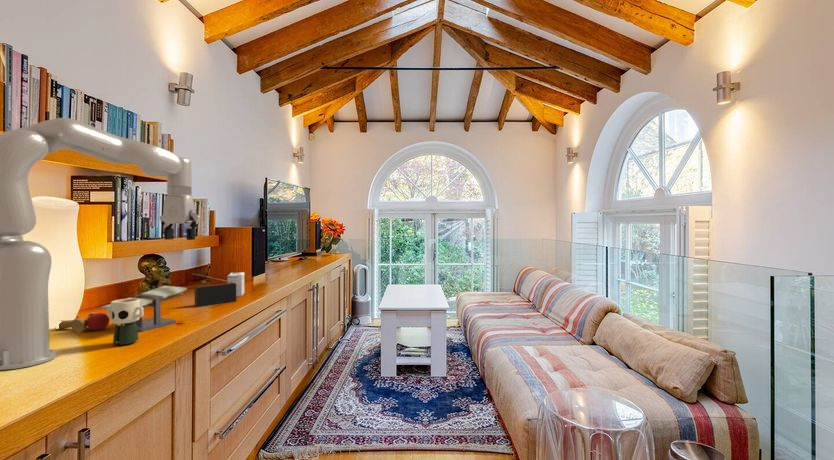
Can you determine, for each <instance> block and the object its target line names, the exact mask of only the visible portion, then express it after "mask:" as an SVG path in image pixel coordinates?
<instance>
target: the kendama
mask: <svg viewBox="0 0 834 460" xmlns="http://www.w3.org/2000/svg"><path fill="white" fill-rule="evenodd" d="M61 321H62V322H61V323H60V324H59V329H58V330H63V329H68V328H71V330H72V331H74V332H75V333H83V332H85V331H86V330H87V329H89V330H91V331H96V332H99V331H103V330H105V329H106V328H107V327H108V326H109V323H110V317H108V314H106V313H104V312H91V313H89V314H88V315H87V317H85V318H81V317H79V318H78V317H77V318H74V319H72V320H71V319H69V320H61Z"/></svg>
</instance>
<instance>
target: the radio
mask: <svg viewBox="0 0 834 460" xmlns="http://www.w3.org/2000/svg"><path fill="white" fill-rule="evenodd" d="M190 274H191V275H193V273H192V272H191V273H190ZM194 275H196V276H198V274H196V273H194ZM199 276H201V277H206V278H209V279H215V280H219V281H223V282H226V283H219V284H210V285H202V286H194V307H196V308H202V307H208V306H216V305H223V304H229V303H231V304H232V303H236V302H237V296H236V283H233V282H231V283H228V282H230V281H228V280H225V279H220V278H216V277H215V278H214V277H211V276H206V275H202V274H199Z"/></svg>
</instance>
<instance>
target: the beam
mask: <svg viewBox="0 0 834 460" xmlns="http://www.w3.org/2000/svg"><path fill="white" fill-rule="evenodd" d="M187 290H188V288H187V287H183V286H173V285H172V286H171V285H163V286H160V287H157V288H155V289H151V290H148V291H144V292H142V293H140V295H142V297H141V298H136V299H140V306H141V307H143V309H145V308H147V307H153V308H154V297H160V303H161V302H164V301H167V300H169V299H172V298H174V297H178V296H180V295H183V293H184V292H185V291H187ZM129 298H130V297H127V298H126V299H129ZM109 306H110V304H106V305H103V306H101V307H100V308H101V310H103V311H107V309H108V307H109Z"/></svg>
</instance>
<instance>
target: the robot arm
mask: <svg viewBox="0 0 834 460" xmlns="http://www.w3.org/2000/svg"><path fill="white" fill-rule="evenodd" d="M60 150H69V151H74V152H77V153H80V154H83V155H86V156H89V157H92V158H96V159H97V160H101V161H103V162H108V163H112V164H113V163H114V164H122V165H123V164H125V165H136V166H138V167H139V170H141V172H143V174H145V175H147V176H149V177H166V193H167V194H166V195H165V197H164V201H163V212H162V214H161V215H159V217H158V218H159V221H160V224H161V225H162V228H163V229H164V240H167V241H168V240H174V237H175V235H174V234H175V233H174V229H175V228H173V227H174V226H175V224H184V225H186V227H187V228H186V234H185V235H186V240H187V241H190V240H191V241H195V240H196V229H197V228H198V226H199V223H200V220H201V216H200V215H199V214H197V213H196V211H195V202H194V198H193V196H192V193H193V192H192V191H193V190H192V189H193V188H192V161H191V160H190V159H188V158H185V157H179V156H178V155H177V154H176V153H174V152H172V151H170V150H167V149H164V148H162V147H159V146H157V145H154V144H150V143H146V142H144V141H143V142H142V141H138V140H134V139H132V138H126V137H122V136H118V135H115V134H113V133H111V132H109V131H108V132H107V131H105V130H104V129H100V128H97V127H96V126H92V125H89V124H87V123H84V122H82V121H79V120H76V119H73V118H70V117H58V118H54V119H48V120H44V121H41V122H37V123H35V124H31V125H28V126H23V127H20V128H15V129H12V130H9V131H6V132H0V371H5V370H7V371H8V370H14V369H15V370H17V369H22V368H27V367H33V366H36V365H39V364H43V363H47V362H49V361H52V360H54V359H55V358H56V357H58V351H57V350H55V349H50V321H49V320H50V319H49V316H50V313H49V312H50V311H49V306H50V305H49V281H50V273H51V271H52V270H51V269H52V256H51V253H50V251H49V250H48V248H46V247H45V246H44V245H42V244H40V243H38V242H35V241H31V240H24V237H23V235H26V234H29V233H30V232H31V231H33V230H34V229H35V227H36V224H37V216H36V212H35V208H34V205H33V201H32V196H31V193H30V188H29V179H28V178H29V173H30V171H31V169H32V168H33V166H35V164H37V163H39V162H40V161H42V160H44V158H45V157H46V156H47V155H50V154H52V153H55V152H58V151H60Z"/></svg>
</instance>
